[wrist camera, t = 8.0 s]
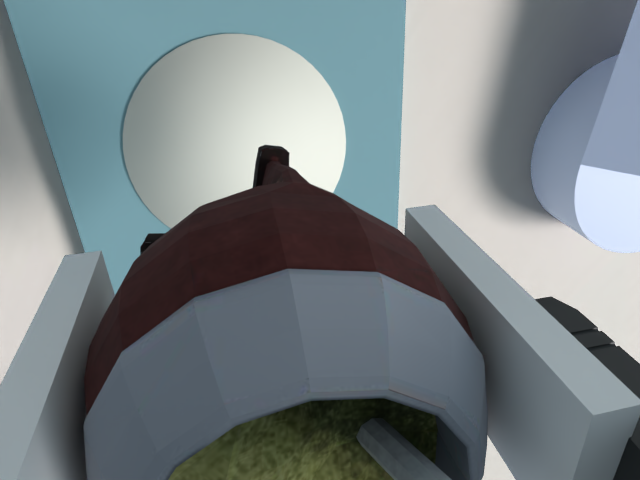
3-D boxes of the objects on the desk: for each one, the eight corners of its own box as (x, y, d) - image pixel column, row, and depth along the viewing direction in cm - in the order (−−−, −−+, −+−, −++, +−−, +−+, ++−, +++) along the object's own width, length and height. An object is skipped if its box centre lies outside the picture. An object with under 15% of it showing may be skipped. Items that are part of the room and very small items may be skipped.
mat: (0, -36, 16) (-10, -36, 15) (400, -53, 18) (408, -54, 18) (108, 305, 23) (105, 316, 22) (390, 261, 25) (396, 270, 24)
